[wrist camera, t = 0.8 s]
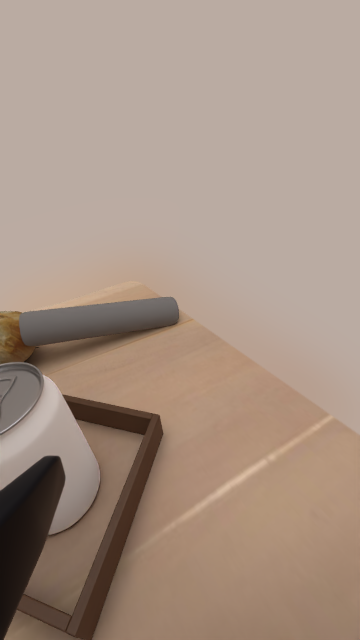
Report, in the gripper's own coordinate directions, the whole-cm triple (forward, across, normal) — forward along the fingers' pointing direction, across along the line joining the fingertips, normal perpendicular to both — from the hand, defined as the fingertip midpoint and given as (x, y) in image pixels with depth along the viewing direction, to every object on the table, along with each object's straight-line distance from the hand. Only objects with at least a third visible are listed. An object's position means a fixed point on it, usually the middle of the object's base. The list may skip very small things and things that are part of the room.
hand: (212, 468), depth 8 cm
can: (+10, +12, +14) cm, 21 cm away
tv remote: (+27, +13, +5) cm, 30 cm away
